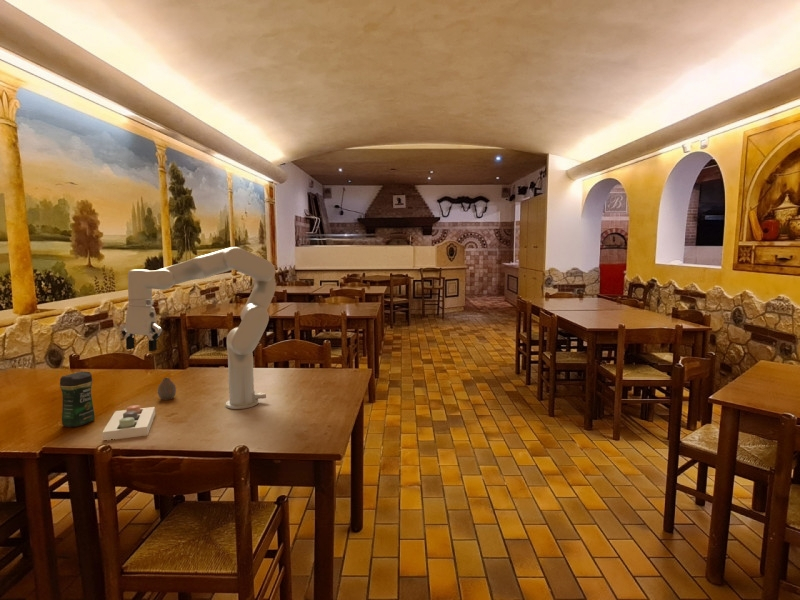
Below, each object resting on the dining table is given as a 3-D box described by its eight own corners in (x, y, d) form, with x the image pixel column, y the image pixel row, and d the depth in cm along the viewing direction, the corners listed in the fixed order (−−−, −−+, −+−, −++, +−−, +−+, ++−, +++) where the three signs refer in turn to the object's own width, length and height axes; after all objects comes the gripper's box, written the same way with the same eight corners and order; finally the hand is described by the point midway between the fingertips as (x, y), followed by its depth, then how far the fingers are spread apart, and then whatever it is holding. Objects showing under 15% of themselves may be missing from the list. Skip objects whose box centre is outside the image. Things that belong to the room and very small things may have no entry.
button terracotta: (141, 412, 173) (141, 404, 173) (139, 416, 169) (139, 408, 169) (128, 413, 172) (127, 405, 171) (126, 417, 168) (125, 409, 167)
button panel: (155, 414, 177) (154, 406, 176) (147, 435, 156) (147, 426, 156) (115, 418, 172) (115, 411, 172) (102, 441, 152) (102, 432, 151)
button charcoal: (138, 418, 167) (138, 410, 167) (136, 422, 163) (136, 414, 162) (124, 420, 165) (124, 411, 165) (122, 424, 161) (121, 415, 161)
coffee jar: (76, 429, 162) (72, 377, 160) (57, 427, 164) (54, 375, 162) (99, 419, 171) (96, 370, 170) (82, 417, 173) (78, 369, 171)
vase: (168, 401, 192) (167, 381, 191) (154, 400, 193) (153, 380, 193) (180, 396, 199) (179, 376, 198) (165, 395, 200) (164, 375, 199)
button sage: (135, 425, 160) (135, 416, 160) (133, 429, 156) (133, 420, 156) (121, 426, 159) (120, 418, 158) (118, 431, 155) (118, 422, 154)
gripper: (168, 303, 170) (169, 349, 171) (128, 301, 174) (130, 346, 175) (152, 305, 163) (153, 353, 164) (112, 303, 167) (113, 350, 168)
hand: (141, 349), depth 170 cm, fingers open, 9 cm apart
